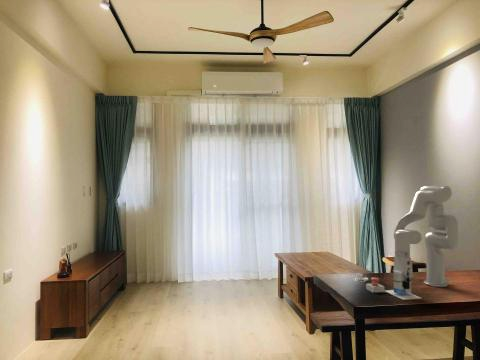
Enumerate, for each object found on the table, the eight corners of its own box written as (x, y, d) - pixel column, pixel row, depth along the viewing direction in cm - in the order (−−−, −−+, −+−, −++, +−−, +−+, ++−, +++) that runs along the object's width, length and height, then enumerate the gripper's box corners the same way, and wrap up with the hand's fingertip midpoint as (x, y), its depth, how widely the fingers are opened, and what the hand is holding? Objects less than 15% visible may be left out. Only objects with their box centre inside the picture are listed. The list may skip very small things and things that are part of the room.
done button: (376, 285, 203) (376, 277, 203) (380, 287, 198) (380, 279, 198) (369, 286, 202) (369, 277, 202) (373, 288, 197) (373, 279, 198)
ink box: (401, 294, 188) (401, 272, 189) (393, 292, 193) (393, 270, 193) (411, 292, 192) (411, 271, 192) (403, 290, 197) (403, 269, 197)
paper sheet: (401, 290, 201) (401, 289, 201) (421, 298, 186) (421, 298, 186) (384, 291, 199) (384, 290, 199) (403, 299, 183) (403, 299, 183)
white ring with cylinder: (369, 280, 223) (369, 274, 223) (364, 283, 217) (364, 276, 217) (356, 278, 229) (356, 272, 229) (351, 280, 223) (351, 274, 223)
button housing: (377, 288, 204) (377, 283, 204) (384, 291, 197) (384, 286, 197) (366, 289, 203) (366, 283, 203) (373, 292, 196) (373, 287, 196)
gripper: (419, 256, 185) (419, 291, 185) (398, 251, 202) (398, 282, 202) (406, 257, 184) (407, 292, 183) (386, 251, 201) (386, 283, 200)
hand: (402, 286), depth 193 cm, fingers closed on ink box, 5 cm apart
